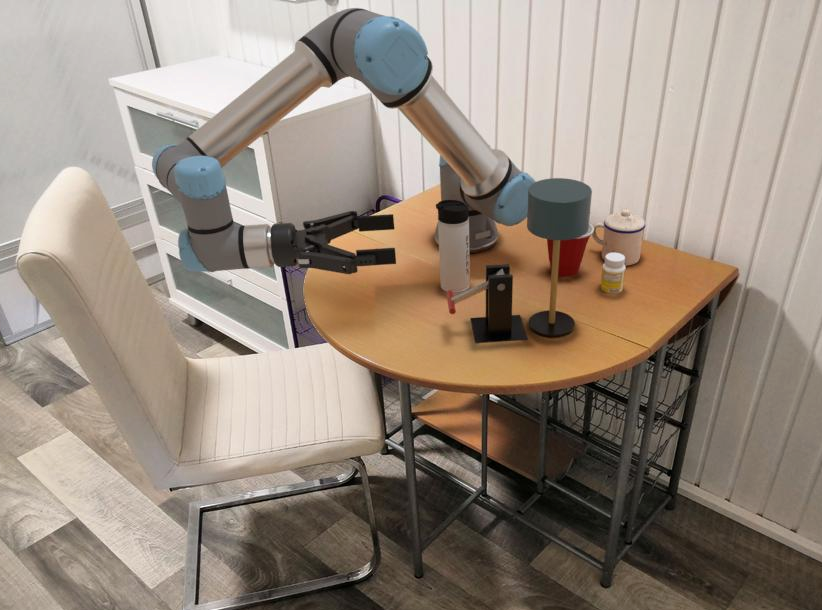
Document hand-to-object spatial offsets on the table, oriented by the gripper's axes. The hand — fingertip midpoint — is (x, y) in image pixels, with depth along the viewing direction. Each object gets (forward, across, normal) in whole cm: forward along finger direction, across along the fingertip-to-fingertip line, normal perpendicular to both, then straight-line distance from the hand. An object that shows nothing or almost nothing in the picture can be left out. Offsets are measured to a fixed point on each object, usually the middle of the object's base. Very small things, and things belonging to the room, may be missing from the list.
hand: (394, 238), depth 131 cm
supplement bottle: (+44, -13, -22) cm, 51 cm away
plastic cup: (+36, -22, -22) cm, 48 cm away
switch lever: (+15, 0, -13) cm, 20 cm away
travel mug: (+12, -18, -22) cm, 31 cm away
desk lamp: (+29, 0, -22) cm, 36 cm away
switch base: (+18, 0, -22) cm, 29 cm away
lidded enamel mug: (+50, -29, -22) cm, 61 cm away
